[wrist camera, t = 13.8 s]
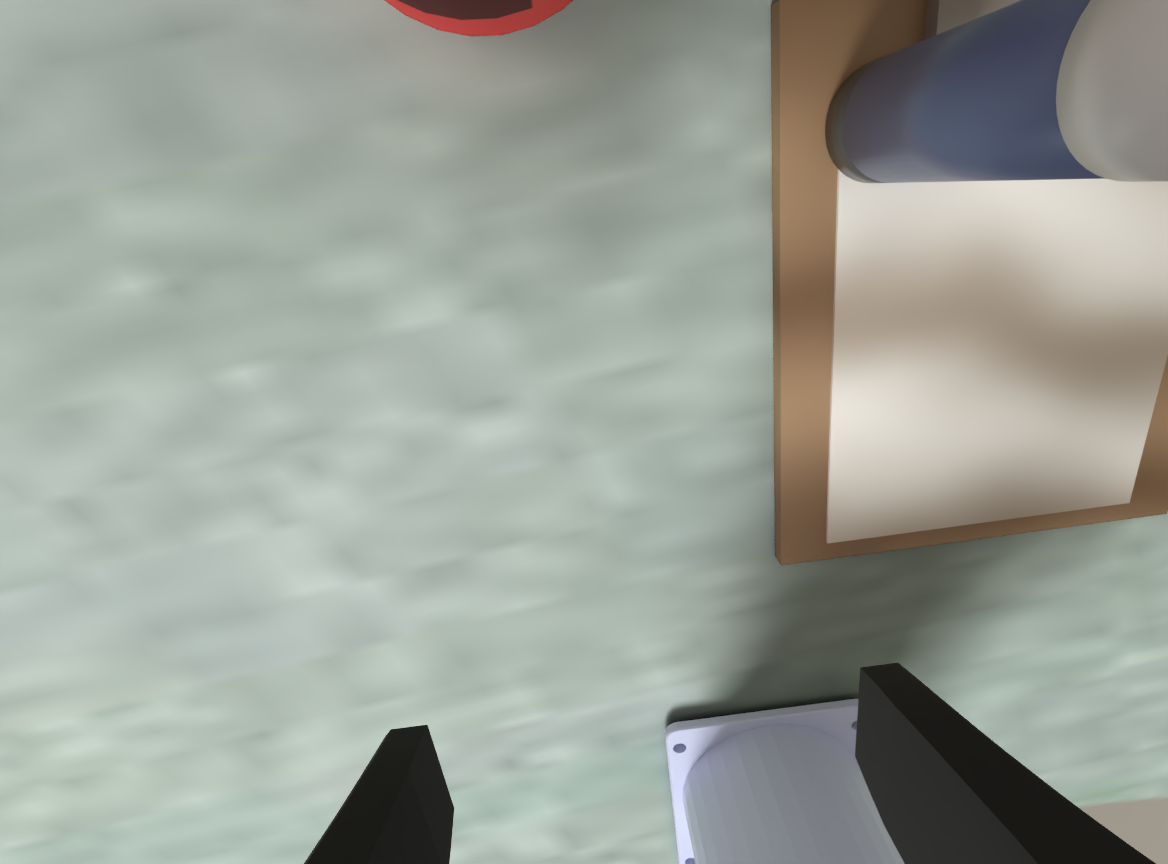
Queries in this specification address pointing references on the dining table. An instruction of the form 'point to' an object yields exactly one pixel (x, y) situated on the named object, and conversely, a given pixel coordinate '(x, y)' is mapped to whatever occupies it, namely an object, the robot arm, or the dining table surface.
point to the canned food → (479, 14)
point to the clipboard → (951, 326)
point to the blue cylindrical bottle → (1014, 99)
